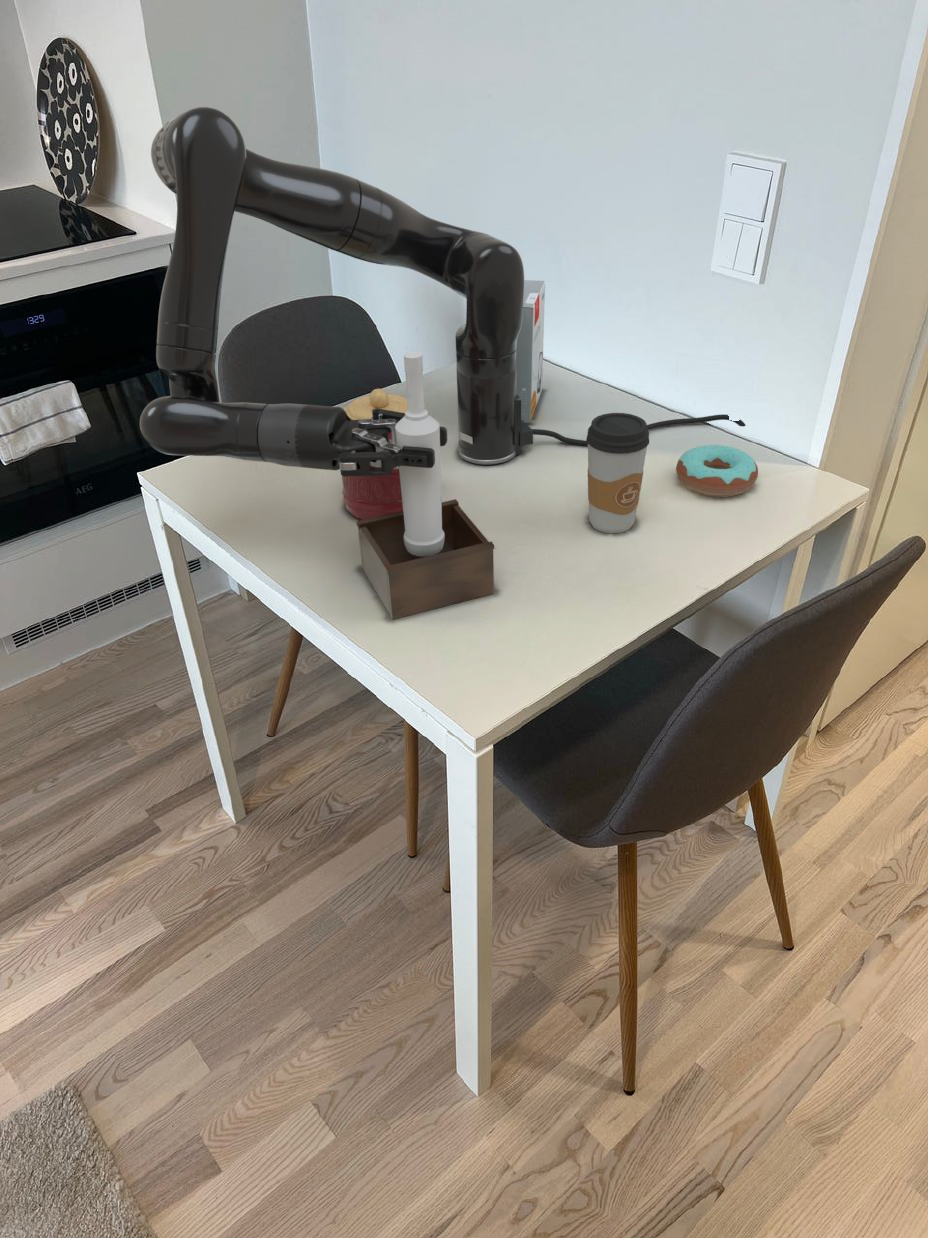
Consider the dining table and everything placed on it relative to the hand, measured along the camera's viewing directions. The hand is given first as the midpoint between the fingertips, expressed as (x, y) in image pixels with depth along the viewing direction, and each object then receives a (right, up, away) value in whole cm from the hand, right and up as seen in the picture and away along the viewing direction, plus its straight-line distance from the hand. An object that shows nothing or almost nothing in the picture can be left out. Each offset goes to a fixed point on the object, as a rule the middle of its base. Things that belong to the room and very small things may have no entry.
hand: (439, 447), depth 109 cm
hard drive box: (+12, +18, +56) cm, 60 cm away
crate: (-2, -15, +12) cm, 19 cm away
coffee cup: (+24, -7, +23) cm, 33 cm away
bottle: (-2, -11, +9) cm, 14 cm away
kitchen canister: (-8, -3, +29) cm, 30 cm away
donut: (+41, 0, +31) cm, 51 cm away
